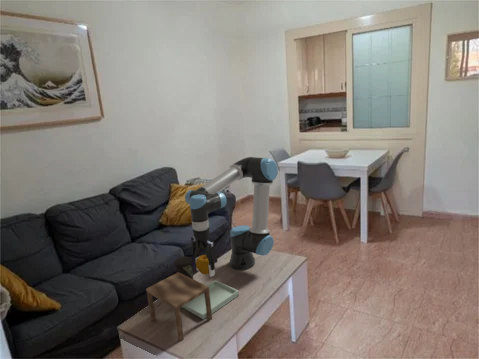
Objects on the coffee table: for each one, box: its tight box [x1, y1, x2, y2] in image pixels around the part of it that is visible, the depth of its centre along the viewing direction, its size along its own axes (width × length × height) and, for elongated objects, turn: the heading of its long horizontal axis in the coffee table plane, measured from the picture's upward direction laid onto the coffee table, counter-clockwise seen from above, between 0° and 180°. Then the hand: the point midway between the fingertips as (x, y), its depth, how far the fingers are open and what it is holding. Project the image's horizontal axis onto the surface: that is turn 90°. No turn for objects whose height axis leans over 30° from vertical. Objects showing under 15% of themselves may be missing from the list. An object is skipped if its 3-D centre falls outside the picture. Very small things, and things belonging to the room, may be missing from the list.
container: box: [173, 256, 194, 279], centre depth 171 cm, size 9×9×20 cm
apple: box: [195, 254, 209, 276], centre depth 158 cm, size 8×8×9 cm
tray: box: [181, 280, 240, 320], centre depth 165 cm, size 24×17×2 cm
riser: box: [145, 272, 213, 342], centre depth 151 cm, size 18×22×16 cm
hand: (205, 272), depth 159 cm, fingers closed on apple, 9 cm apart
